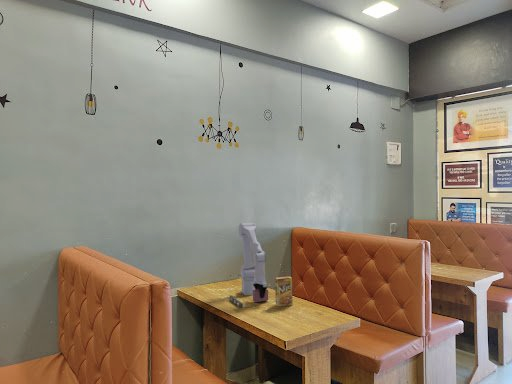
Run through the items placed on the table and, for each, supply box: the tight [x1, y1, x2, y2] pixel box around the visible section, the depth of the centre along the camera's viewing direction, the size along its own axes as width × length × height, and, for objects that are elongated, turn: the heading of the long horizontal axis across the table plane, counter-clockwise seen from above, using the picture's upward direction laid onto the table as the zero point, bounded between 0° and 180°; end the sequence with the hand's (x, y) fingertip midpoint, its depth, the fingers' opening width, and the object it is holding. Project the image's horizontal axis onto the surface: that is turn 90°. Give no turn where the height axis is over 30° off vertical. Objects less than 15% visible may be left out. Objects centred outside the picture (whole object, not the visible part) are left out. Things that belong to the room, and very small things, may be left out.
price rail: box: [229, 295, 244, 309], centre depth 205 cm, size 18×2×2 cm, turn 24°
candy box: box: [274, 275, 294, 307], centre depth 200 cm, size 9×4×15 cm, turn 107°
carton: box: [252, 288, 269, 303], centre depth 208 cm, size 4×8×6 cm, turn 114°
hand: (260, 296), depth 208 cm, fingers closed on carton, 4 cm apart
